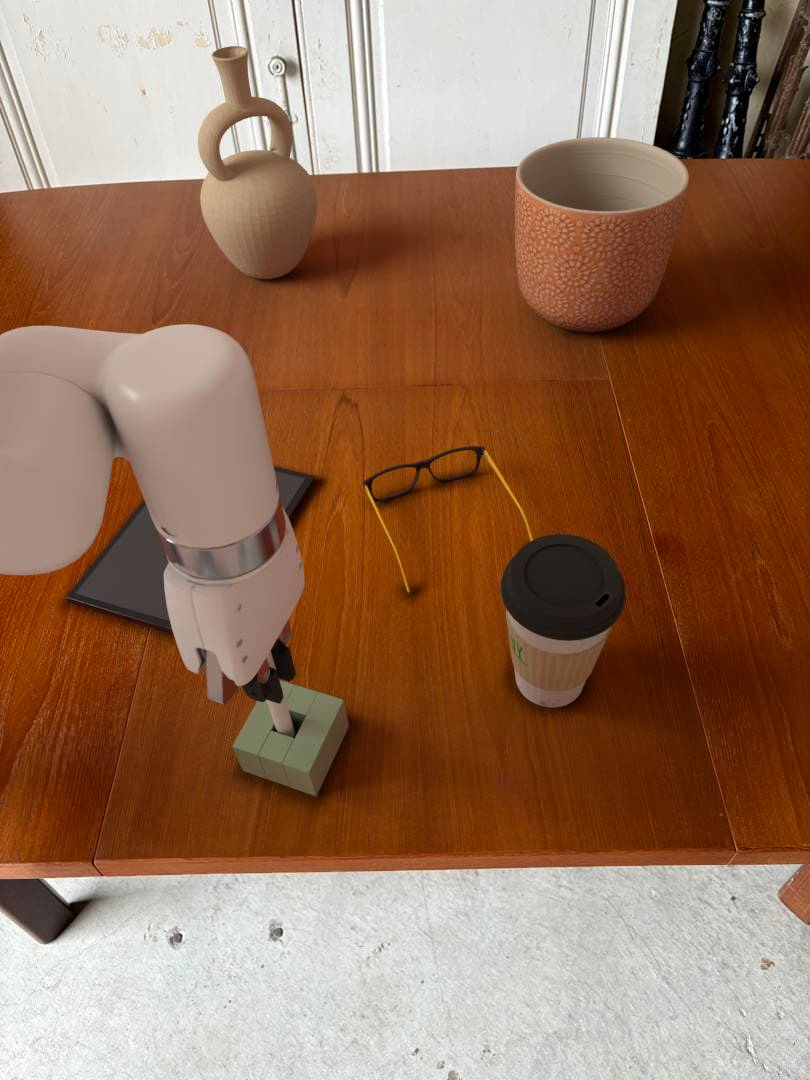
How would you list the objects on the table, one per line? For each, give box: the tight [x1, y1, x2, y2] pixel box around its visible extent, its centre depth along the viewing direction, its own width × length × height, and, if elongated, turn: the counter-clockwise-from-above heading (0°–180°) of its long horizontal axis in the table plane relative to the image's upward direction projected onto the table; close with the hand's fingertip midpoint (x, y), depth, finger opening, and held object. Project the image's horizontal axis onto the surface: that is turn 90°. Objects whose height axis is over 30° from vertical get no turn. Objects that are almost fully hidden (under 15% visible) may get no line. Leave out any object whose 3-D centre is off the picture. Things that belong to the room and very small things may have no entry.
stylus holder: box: [231, 679, 350, 797], centre depth 69 cm, size 7×7×4 cm
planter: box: [514, 136, 690, 333], centre depth 106 cm, size 21×21×19 cm
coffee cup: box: [499, 533, 627, 709], centre depth 69 cm, size 10×10×15 cm
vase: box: [197, 45, 318, 280], centre depth 114 cm, size 17×17×30 cm
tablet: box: [65, 466, 317, 636], centre depth 88 cm, size 17×24×1 cm
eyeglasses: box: [362, 445, 534, 593], centre depth 86 cm, size 14×14×4 cm
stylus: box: [266, 650, 296, 738], centre depth 64 cm, size 1×1×14 cm
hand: (270, 683), depth 63 cm, fingers closed on stylus, 1 cm apart
